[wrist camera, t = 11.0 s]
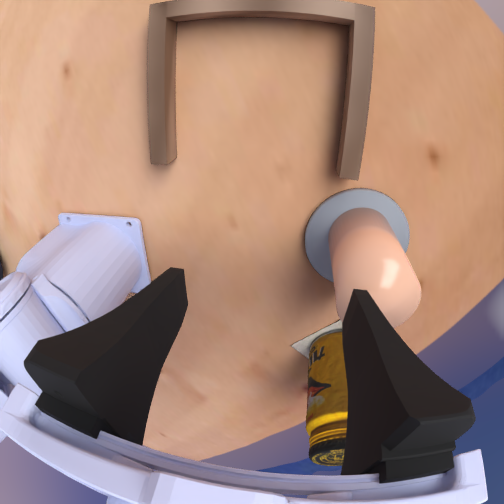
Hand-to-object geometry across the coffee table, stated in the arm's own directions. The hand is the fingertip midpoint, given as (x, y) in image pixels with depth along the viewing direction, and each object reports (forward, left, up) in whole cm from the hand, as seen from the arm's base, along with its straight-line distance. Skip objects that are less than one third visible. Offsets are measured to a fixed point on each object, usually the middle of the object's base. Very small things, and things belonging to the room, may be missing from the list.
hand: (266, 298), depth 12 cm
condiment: (+8, -14, -10) cm, 19 cm away
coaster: (+6, -2, -10) cm, 12 cm away
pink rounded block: (+6, -3, -9) cm, 11 cm away
